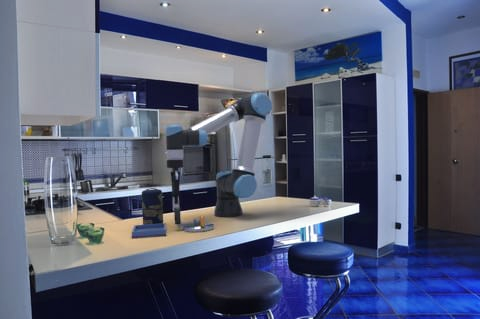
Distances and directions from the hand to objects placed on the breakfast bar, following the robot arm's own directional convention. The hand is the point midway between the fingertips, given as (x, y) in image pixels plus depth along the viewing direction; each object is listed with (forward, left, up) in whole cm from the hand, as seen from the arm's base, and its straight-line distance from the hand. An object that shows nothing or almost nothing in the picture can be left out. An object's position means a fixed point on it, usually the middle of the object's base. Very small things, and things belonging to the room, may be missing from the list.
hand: (176, 210), depth 170 cm
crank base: (-9, +7, -8) cm, 14 cm away
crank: (-5, +7, -6) cm, 10 cm away
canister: (+11, -7, -8) cm, 15 cm away
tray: (+12, +9, -8) cm, 17 cm away
